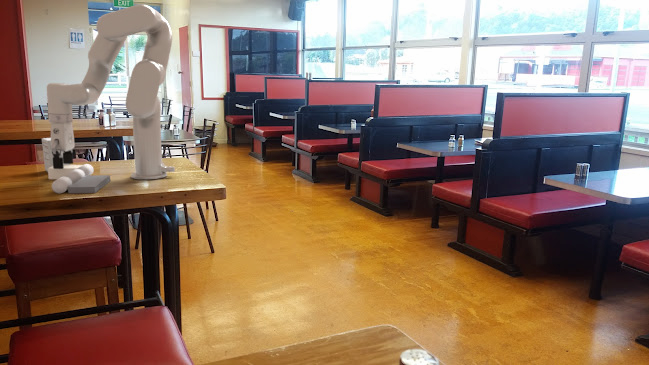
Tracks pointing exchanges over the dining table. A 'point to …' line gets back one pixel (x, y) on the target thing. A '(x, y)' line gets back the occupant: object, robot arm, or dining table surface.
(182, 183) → the dining table surface
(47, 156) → the supplement box
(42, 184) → the dining table surface
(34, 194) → the dining table surface
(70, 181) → the fixed leaf
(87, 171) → the cream hinge flap
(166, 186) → the dining table surface
